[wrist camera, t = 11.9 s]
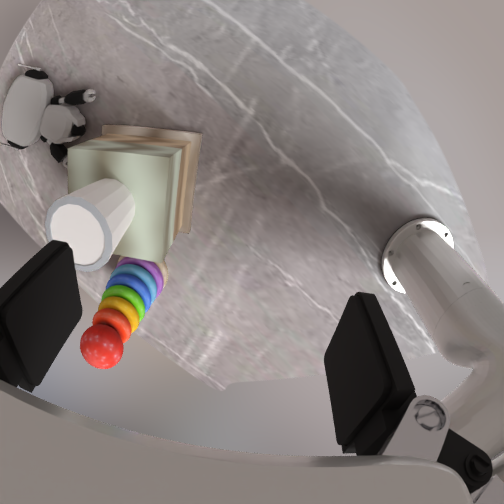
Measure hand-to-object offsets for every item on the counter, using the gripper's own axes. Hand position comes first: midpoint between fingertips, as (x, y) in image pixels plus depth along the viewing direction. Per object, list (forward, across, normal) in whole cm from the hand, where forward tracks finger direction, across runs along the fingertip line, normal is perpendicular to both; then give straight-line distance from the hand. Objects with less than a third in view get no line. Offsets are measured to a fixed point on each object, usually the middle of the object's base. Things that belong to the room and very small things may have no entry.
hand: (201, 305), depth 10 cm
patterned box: (+30, +12, +5) cm, 32 cm away
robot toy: (+30, +28, -3) cm, 41 cm away
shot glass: (+19, +12, +5) cm, 23 cm away
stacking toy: (+30, +12, +19) cm, 38 cm away
